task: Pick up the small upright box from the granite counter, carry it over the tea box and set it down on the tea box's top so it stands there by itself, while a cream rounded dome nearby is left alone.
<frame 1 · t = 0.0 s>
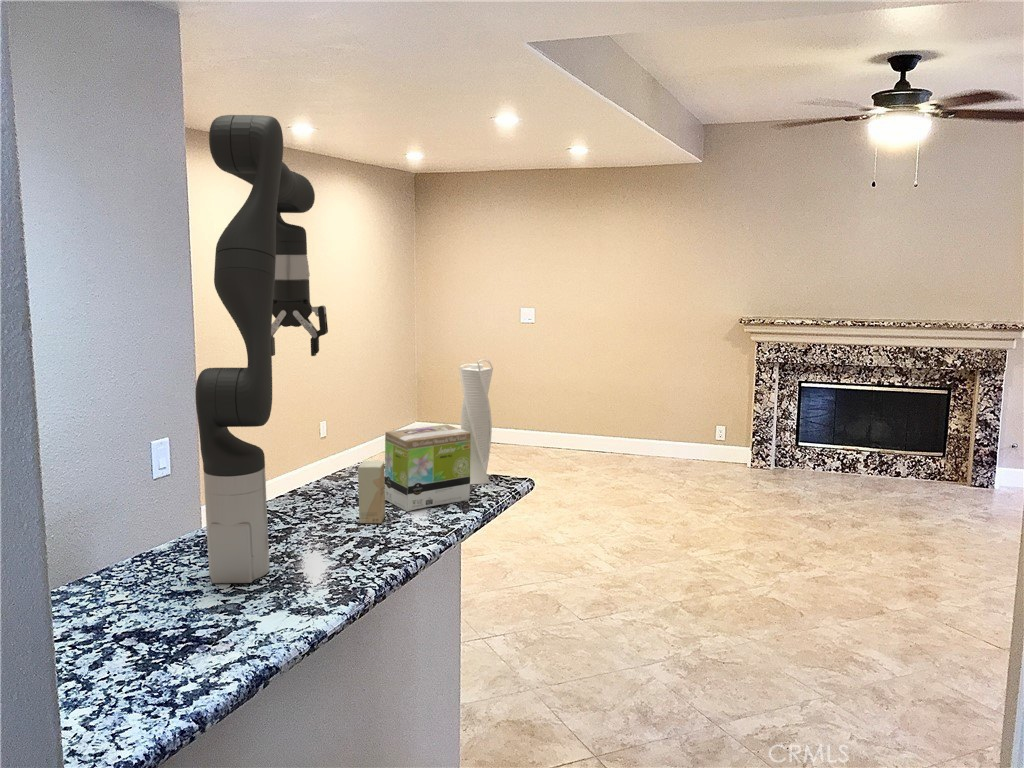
hand: (293, 355, 173), 29 cm above the counter, tool pointing down, fingers open, 8 cm apart
skyscraper: (476, 482, 186), on the counter
cream rounded dome: (412, 485, 183), on the counter
box: (372, 520, 160), on the counter
tea box: (428, 501, 172), on the counter
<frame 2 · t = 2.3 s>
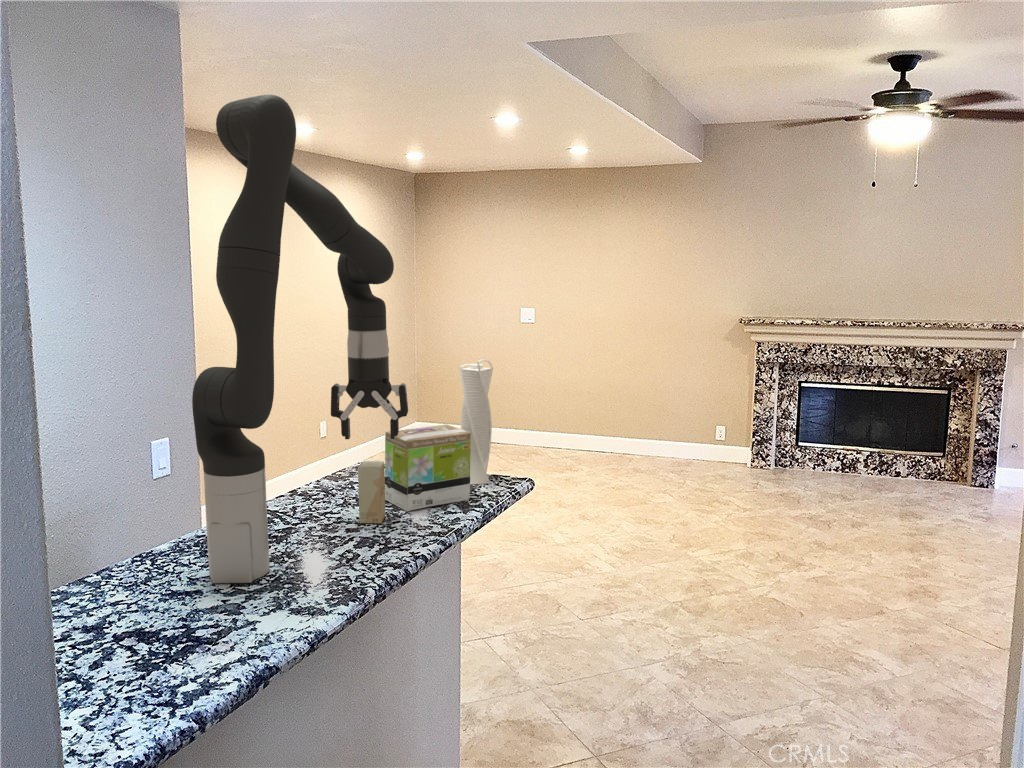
hand: (370, 438, 157), 16 cm above the counter, tool pointing down, fingers open, 8 cm apart
nothing on the counter moved.
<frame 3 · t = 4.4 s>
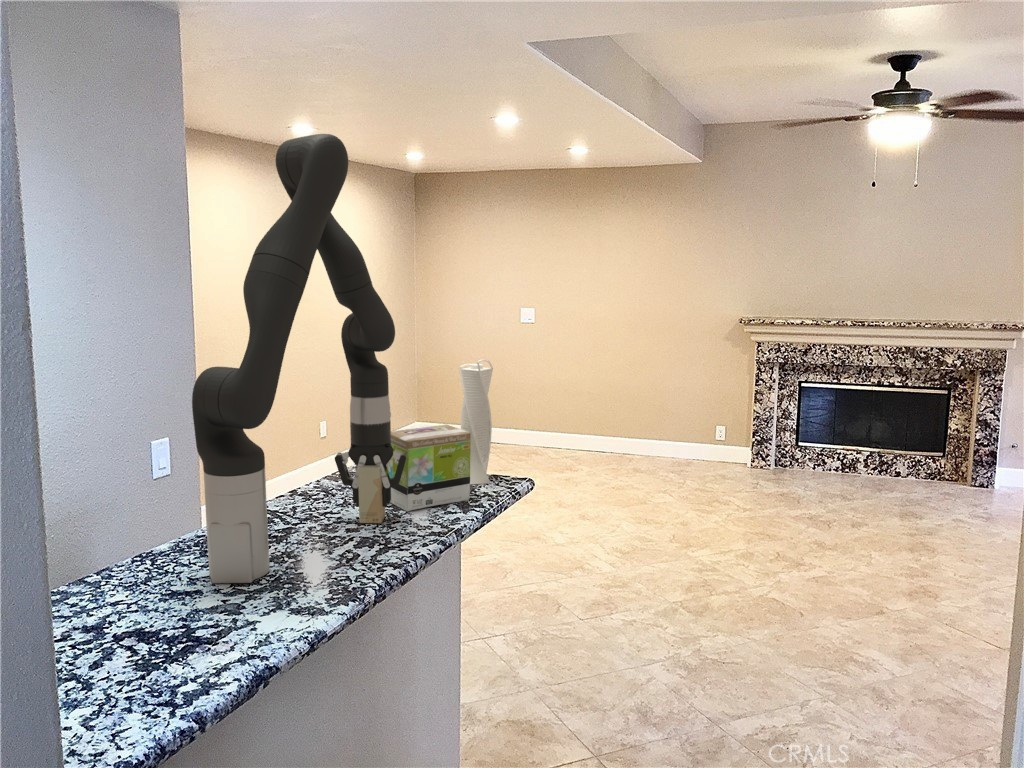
hand: (372, 505, 159), 3 cm above the counter, tool pointing down, fingers closed on box, 4 cm apart
box: (372, 520, 160), on the counter, touching gripper
everything else where it was.
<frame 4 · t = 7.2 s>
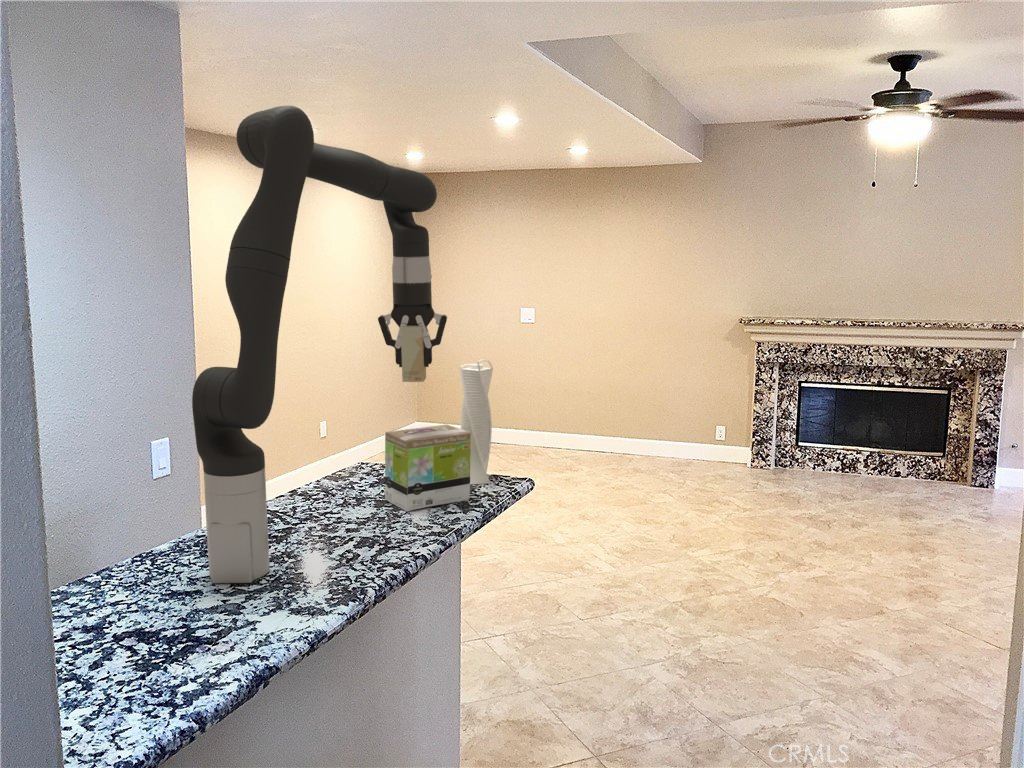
hand: (414, 366, 165), 28 cm above the counter, tool pointing down, fingers closed on box, 4 cm apart
box: (414, 381, 166), point 25 cm above the counter, touching gripper
everything else where it was.
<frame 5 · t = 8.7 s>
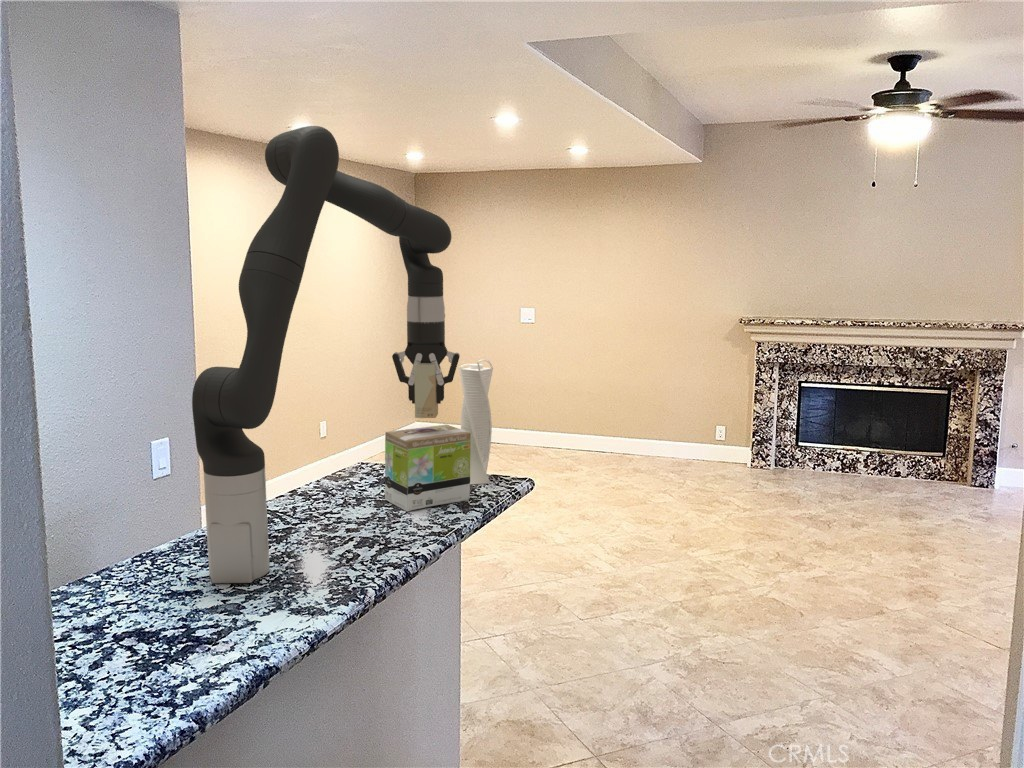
hand: (426, 402, 169), 21 cm above the counter, tool pointing down, fingers closed on box, 4 cm apart
box: (426, 417, 169), point 18 cm above the counter, touching gripper
everything else where it was.
when the fingers open (19 cm above the counter, at t = 9.9 s): box drops 1 cm, resting on tea box.
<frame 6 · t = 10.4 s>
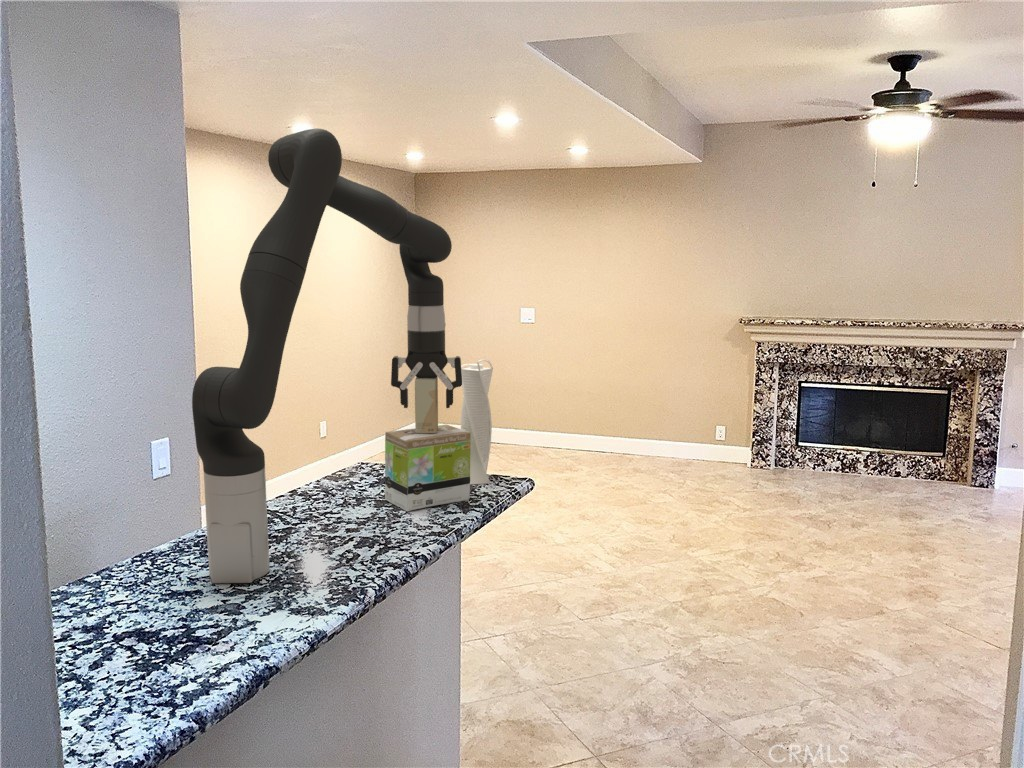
hand: (427, 407, 169), 20 cm above the counter, tool pointing down, fingers open, 8 cm apart
box: (426, 431, 170), point 14 cm above the counter, touching tea box
tea box: (428, 501, 172), on the counter, touching box
everything else where it was.
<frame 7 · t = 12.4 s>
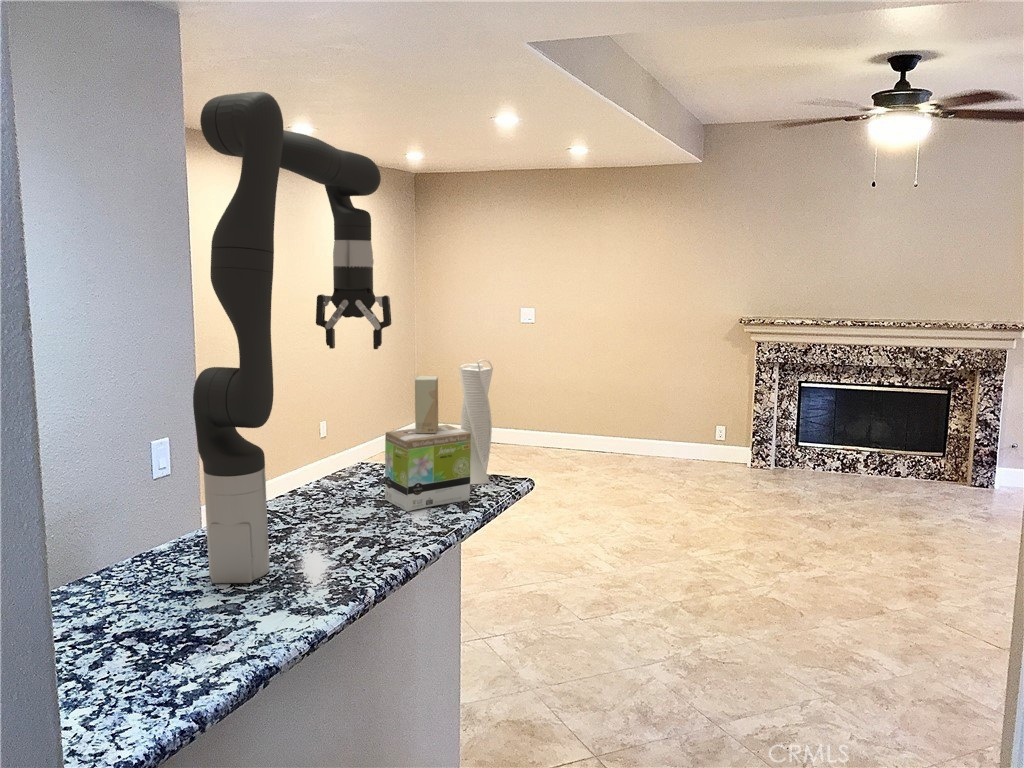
hand: (354, 348, 162), 32 cm above the counter, tool pointing down, fingers open, 8 cm apart
nothing on the counter moved.
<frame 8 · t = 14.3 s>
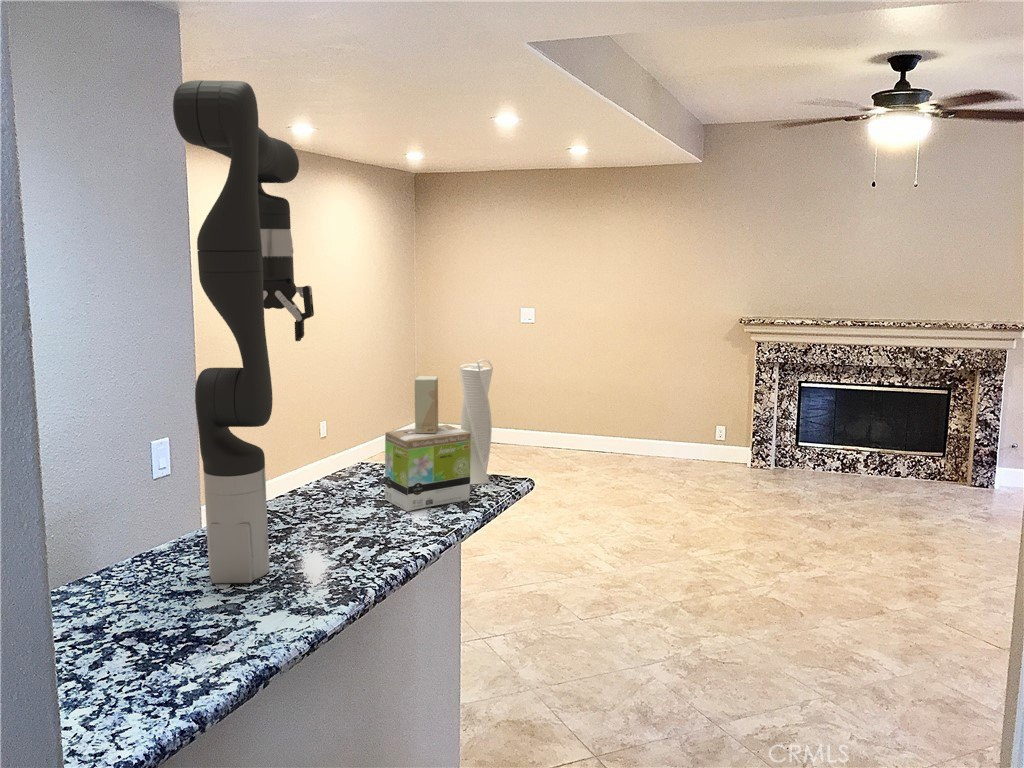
hand: (275, 340, 158), 34 cm above the counter, tool pointing down, fingers open, 8 cm apart
nothing on the counter moved.
at the end: box inside the target area on the tea box (0.1 cm from its centre), point 14.8 cm above the tea box's base; box tilted 0°; the gripper is holding nothing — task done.
